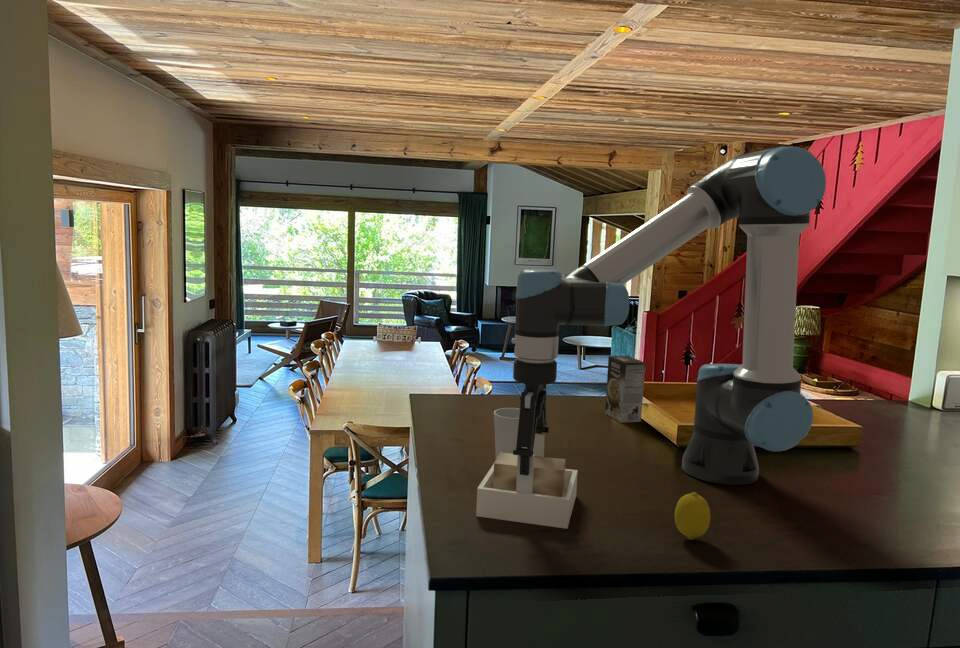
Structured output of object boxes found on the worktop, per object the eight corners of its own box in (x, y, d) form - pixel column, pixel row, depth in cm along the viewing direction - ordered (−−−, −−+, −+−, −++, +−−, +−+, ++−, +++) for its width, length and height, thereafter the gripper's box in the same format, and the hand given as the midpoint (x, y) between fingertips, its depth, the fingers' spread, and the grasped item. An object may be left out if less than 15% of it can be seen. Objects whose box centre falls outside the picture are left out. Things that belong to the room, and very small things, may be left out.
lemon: (680, 528, 114) (684, 483, 113) (713, 539, 110) (717, 492, 109) (667, 539, 110) (670, 492, 108) (700, 550, 106) (704, 502, 105)
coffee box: (603, 413, 185) (607, 355, 182) (624, 412, 187) (628, 355, 184) (620, 423, 176) (624, 362, 174) (642, 421, 178) (646, 361, 176)
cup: (527, 478, 134) (530, 420, 133) (488, 474, 136) (490, 416, 134) (532, 465, 142) (535, 409, 140) (495, 461, 144) (497, 406, 142)
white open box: (576, 495, 126) (577, 470, 126) (567, 528, 112) (569, 500, 112) (494, 485, 130) (495, 460, 129) (476, 516, 116) (477, 488, 115)
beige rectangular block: (492, 490, 119) (494, 463, 118) (498, 478, 125) (499, 452, 124) (561, 498, 116) (562, 470, 116) (564, 485, 122) (565, 459, 122)
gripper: (525, 346, 130) (521, 455, 133) (500, 370, 107) (495, 501, 110) (564, 349, 128) (559, 459, 131) (547, 374, 105) (541, 507, 108)
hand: (530, 479), depth 120 cm, fingers open, 12 cm apart
